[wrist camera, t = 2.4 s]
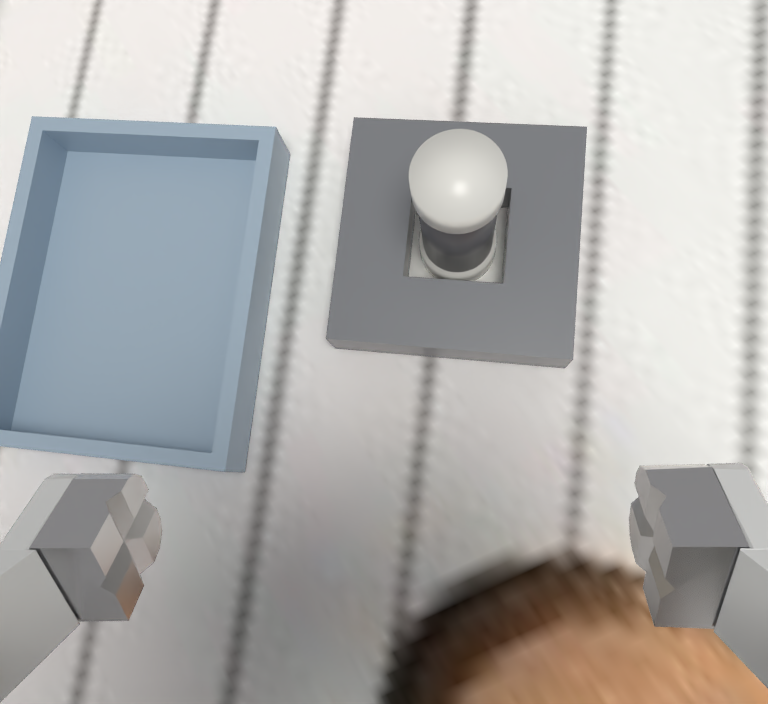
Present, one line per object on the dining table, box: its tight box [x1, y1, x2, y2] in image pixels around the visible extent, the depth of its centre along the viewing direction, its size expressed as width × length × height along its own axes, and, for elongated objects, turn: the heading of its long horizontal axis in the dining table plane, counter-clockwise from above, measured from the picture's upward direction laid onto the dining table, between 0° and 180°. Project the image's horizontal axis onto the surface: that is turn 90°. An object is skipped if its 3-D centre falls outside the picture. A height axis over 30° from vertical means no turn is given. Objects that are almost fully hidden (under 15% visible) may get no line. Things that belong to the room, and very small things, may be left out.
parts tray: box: [0, 116, 290, 472], centre depth 36 cm, size 18×14×3 cm
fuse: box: [409, 129, 508, 281], centre depth 31 cm, size 4×4×9 cm
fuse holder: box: [326, 117, 587, 368], centre depth 34 cm, size 12×12×2 cm
